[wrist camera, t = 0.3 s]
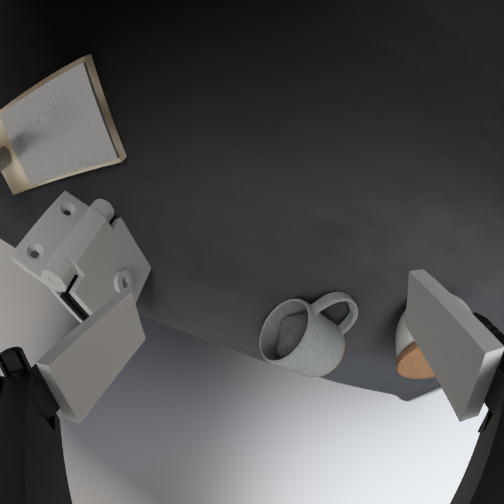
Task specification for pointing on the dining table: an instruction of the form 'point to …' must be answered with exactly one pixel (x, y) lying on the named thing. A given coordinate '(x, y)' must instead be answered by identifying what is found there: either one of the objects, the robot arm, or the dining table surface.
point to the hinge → (83, 255)
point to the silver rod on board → (58, 128)
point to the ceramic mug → (306, 335)
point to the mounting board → (21, 183)
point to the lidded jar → (412, 352)
